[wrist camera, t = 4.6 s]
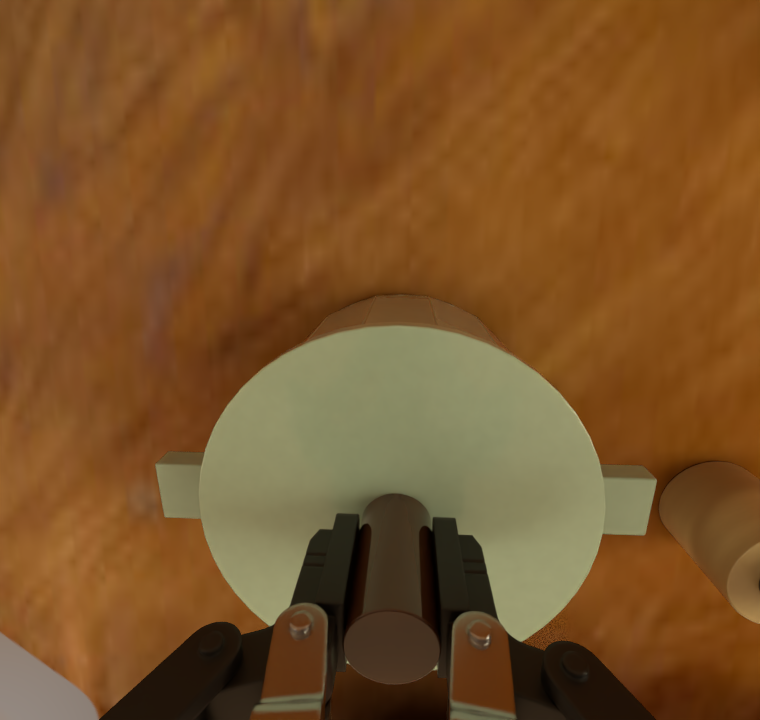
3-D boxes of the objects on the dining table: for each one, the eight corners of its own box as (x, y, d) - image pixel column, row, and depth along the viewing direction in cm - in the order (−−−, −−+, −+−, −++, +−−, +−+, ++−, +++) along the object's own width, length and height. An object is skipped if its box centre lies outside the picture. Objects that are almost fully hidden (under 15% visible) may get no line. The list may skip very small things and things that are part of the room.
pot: (223, 292, 22) (116, 333, 14) (590, 295, 21) (704, 340, 13) (246, 507, 26) (173, 635, 18) (558, 518, 25) (631, 660, 17)
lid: (189, 314, 14) (51, 372, 9) (621, 319, 13) (769, 386, 8) (233, 634, 18) (158, 810, 13) (565, 652, 18) (637, 849, 12)
